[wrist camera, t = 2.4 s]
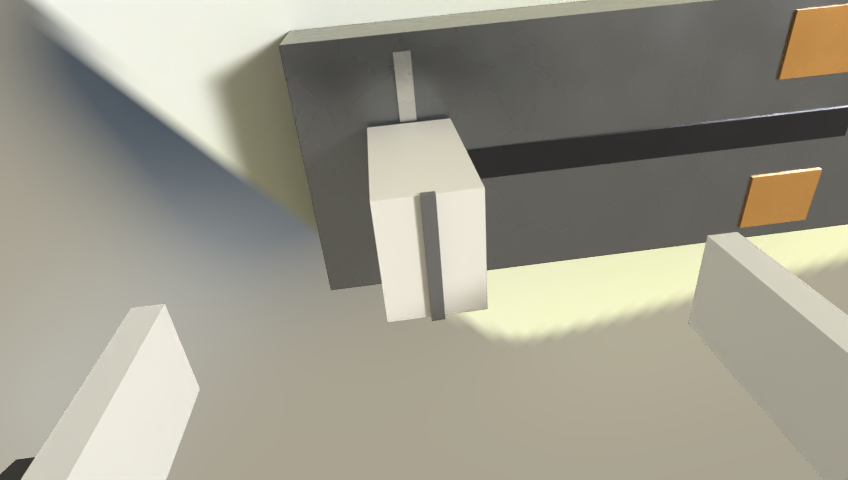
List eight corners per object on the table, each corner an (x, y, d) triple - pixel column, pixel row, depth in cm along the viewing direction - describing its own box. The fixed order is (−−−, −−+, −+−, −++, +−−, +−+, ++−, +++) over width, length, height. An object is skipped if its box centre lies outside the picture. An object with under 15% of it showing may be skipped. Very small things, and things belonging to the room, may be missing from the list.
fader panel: (289, 30, 20) (278, 45, 17) (888, -31, 21) (966, -26, 18) (334, 253, 25) (330, 291, 22) (813, 194, 26) (865, 223, 23)
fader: (366, 126, 18) (369, 202, 13) (450, 117, 19) (486, 188, 13) (381, 226, 21) (388, 326, 15) (455, 217, 21) (488, 313, 15)
